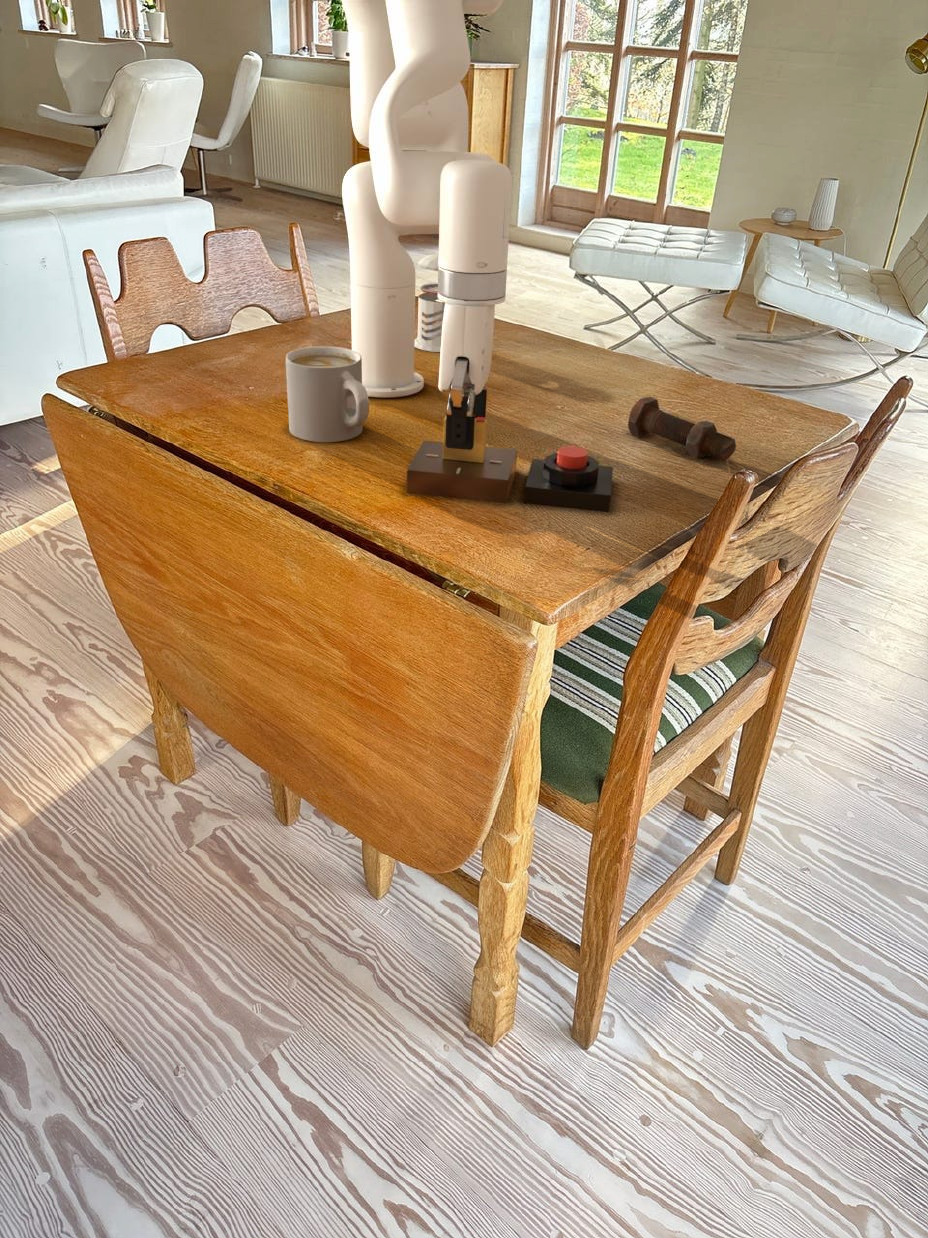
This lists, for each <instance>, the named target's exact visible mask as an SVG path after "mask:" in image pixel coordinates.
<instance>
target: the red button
mask: <svg viewBox="0 0 928 1238" xmlns="http://www.w3.org/2000/svg"><path fill="white" fill-rule="evenodd" d="M556 453H557V463H556V464H557V465H558V466H560V467H563V468H566V469H584V468H586V466H587V458H588V456H589V452H588V450H587V449H585V448H582V447H580V446H575V445H565V446H562V447H559V448H558V449H557V452H556Z"/></svg>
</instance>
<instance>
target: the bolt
mask: <svg viewBox="0 0 928 1238" xmlns="http://www.w3.org/2000/svg"><path fill="white" fill-rule="evenodd" d="M629 412H630V413H629V414H628V419H627V420H628V421H627V428H628V430H629V433H630V434H631V436H633V437H635V438H637V439H639V438H643V437H645V436H649V435H656V436H658V437H660V438H664V439H667V440H668V441H671V442H675V443H677V444H679V445H682V446H684V447H685V448H686V451H687V454H688V455H689V456H691V457H693V458H696V459H699V458H704V457H706V456H709V457H712V458H714V459H717V460H719V461H722V462H723V461H726V460H729V459H730V458H731V457H732V455H733V454H734V453H735V451H736V448H737V444H736V439H735V438H733V437H732V436H729V435H726V434H724V433H720V432H718V430H717V427H716V425H715V423H714V422H711V421H708V420H702V421H698V422H697V423H695V422H692V421H689V420H686V419H684V418H680V417H678V416H675V415H673V414H670V413H667V412H664V410H661V409H660V405H659V401H658V399H657V398H655V397H652V396H646V397H642V398H639V399H638V400H637V401H636V403H634V405H633V406H632V407H631V409H630V411H629Z"/></svg>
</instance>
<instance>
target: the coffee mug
mask: <svg viewBox="0 0 928 1238" xmlns="http://www.w3.org/2000/svg"><path fill="white" fill-rule="evenodd" d="M285 371H286V373H285V374H286V375H285V376H286V377H285V378H286V392H287V393H286V394H287V410H288V411H287V412H288V429H289V433H290V434H291V435H292V436H293V437H295V438H297V439H301V440H304V441H308V442H314V443H337V442H344V441H349V440H351V439H354V438H356V437H358V436H359V435H361V434H362V432H363V424H365V422H366V421H367V420H368V417H369V413H370V400H369V396H368V394H367V391H366V389H365V387H364V386H363V385H362V358H361V355H360V354H359V353H357V352H355V351H353V350H352V349H351V348H346V347H339V346H328V345H318V346H306V347H301V348H296V349H294V350H291V351H289V352H287V353H286V354H285Z"/></svg>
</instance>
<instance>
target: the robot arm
mask: <svg viewBox="0 0 928 1238" xmlns="http://www.w3.org/2000/svg"><path fill="white" fill-rule="evenodd" d="M340 2H341V4H342V8H343V11H344V15H345V19H346V23H347V28H348V29H347V30H348V41H349V44H348V45H349V86H350V87H349V88H350V89H349V90H350V91H349V92H350V94H349V95H350V115H351V123H352V124H351V125H352V130H353V135H354V137H355V139H356V141H357V142H358V143H359V144H360V145H362V146H364V147H366V148H368V149H369V150H368V151H369V158H370V160H368V161H364V162H360V163H357V164H355V165H353V166H352V167H350V168H349V169H348V170H347V171H346V173H345V175H344V177H343V180H342V185H341V196H342V206H343V210H344V211H343V212H344V217H345V223H346V230H347V237H348V248H349V249H348V250H349V267H350V268H349V271H350V272H349V273H350V275H349V276H350V318H351V319H350V320H351V321H350V325H351V327H350V328H351V350H353V351H355V352H357V353H359V354H360V355H361V358H362V385H363V386H364V387H365V389H366V391H367V394H368V398H369V397H370V398H379V399H381V398H382V399H383V398H384V399H386V398H387V399H388V398H401V397H407V396H412V395H414V394H417V393H419V392H421V391H422V390H423V388H425V387H424V386H425V378H424V376H422V375H421V374H420V373H418V372H416V371H415V349H416V347H415V339H416V336H415V335H416V332H415V331H416V267H415V264H414V262H413V259H412V257H411V256H410V254H409V253H408V252H407V250H406V249H405V248H404V246H403V245H402V244H401V241H399V237H401V236H409V235H438V254H439V262H438V265H439V266H438V271H437V273H438V274H437V284H438V298H439V299H438V300H439V301H440V302H445V308H444V313H443V314H444V315H443V324H442V336H441V352H439V353H440V354H439V355H440V356H439V369H438V370H439V371H438V384H437V385H438V390H439V391H440V392H441V393H442V394H443V393H445V392H446V391H449V394H448V401H447V407H446V414H445V417H446V442H445V445H446V447H447V448H454V449H465V450H471V449H472V448H473V446H474V427H475V418H477V417H483V418H486V417H487V399H488V398H487V396H488V389H486V388H487V382H488V379H489V377H490V373H491V368H492V360H493V347H494V335H495V333H494V331H495V310H496V309H495V308H496V305H500V304H503V303H504V302H506V297H507V295H506V293H507V277H508V258H509V257H508V255H509V242H510V241H509V239H510V224H511V223H510V222H511V208H512V207H511V206H512V190H513V189H512V188H513V177H512V173H511V170H510V169H509V167H508V166H507V165H506V164H503V163H502V162H498V161H496V160H494V159H493V158H492V157H491V156H489V154H485V153H482V152H475V151H470V152H469V105H468V98H467V94H466V91H465V89H464V86H463V85H462V83H461V81H463V79H464V78H465V77H466V76H467V74H468V71H469V69H470V67H471V60H472V59H471V50H470V45H469V39H468V32H467V28H466V21H465V15H464V14H467V15H468V14H469V15H491V14H494V13H496V11H498V9H499V8H500V7H501V6H502V3H503V2H504V0H340ZM486 419H487V418H486Z"/></svg>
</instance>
